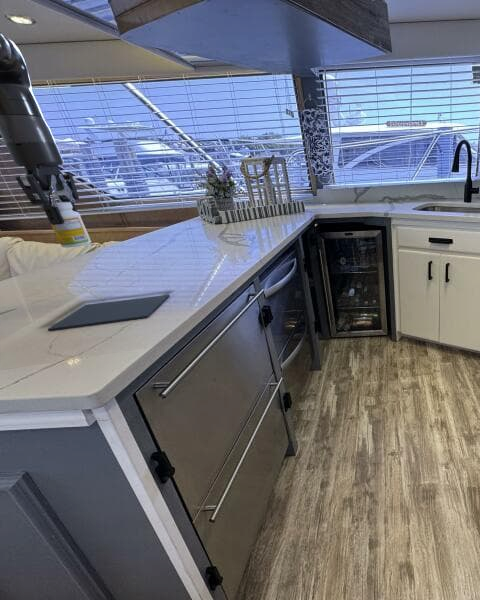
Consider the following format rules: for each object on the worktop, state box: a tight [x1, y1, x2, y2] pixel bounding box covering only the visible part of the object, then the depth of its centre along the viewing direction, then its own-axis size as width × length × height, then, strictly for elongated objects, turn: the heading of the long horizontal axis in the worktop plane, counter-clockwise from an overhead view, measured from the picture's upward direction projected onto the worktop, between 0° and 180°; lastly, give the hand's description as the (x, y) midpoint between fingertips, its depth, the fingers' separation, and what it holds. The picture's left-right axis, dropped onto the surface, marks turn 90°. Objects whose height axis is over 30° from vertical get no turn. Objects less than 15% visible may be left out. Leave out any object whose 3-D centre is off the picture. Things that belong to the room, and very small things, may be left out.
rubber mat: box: [47, 294, 170, 332], centre depth 74 cm, size 18×13×1 cm
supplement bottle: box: [50, 201, 92, 248], centre depth 75 cm, size 5×5×10 cm
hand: (66, 221), depth 74 cm, fingers closed on supplement bottle, 5 cm apart
